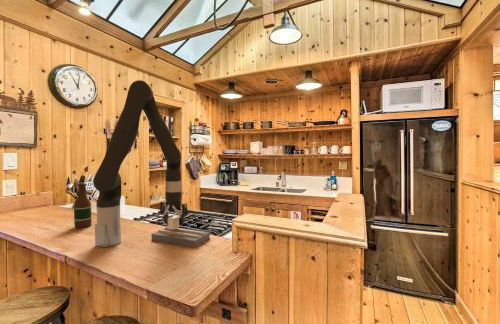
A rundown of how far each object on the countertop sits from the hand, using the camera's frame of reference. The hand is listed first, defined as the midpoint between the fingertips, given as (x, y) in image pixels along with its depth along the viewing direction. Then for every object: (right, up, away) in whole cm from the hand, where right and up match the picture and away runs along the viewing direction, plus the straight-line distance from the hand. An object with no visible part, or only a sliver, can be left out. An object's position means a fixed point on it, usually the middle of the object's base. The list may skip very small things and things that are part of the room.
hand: (173, 223), depth 117 cm
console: (+4, -7, -1) cm, 8 cm away
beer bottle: (-55, -6, +18) cm, 59 cm away
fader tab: (0, -4, 0) cm, 4 cm away
